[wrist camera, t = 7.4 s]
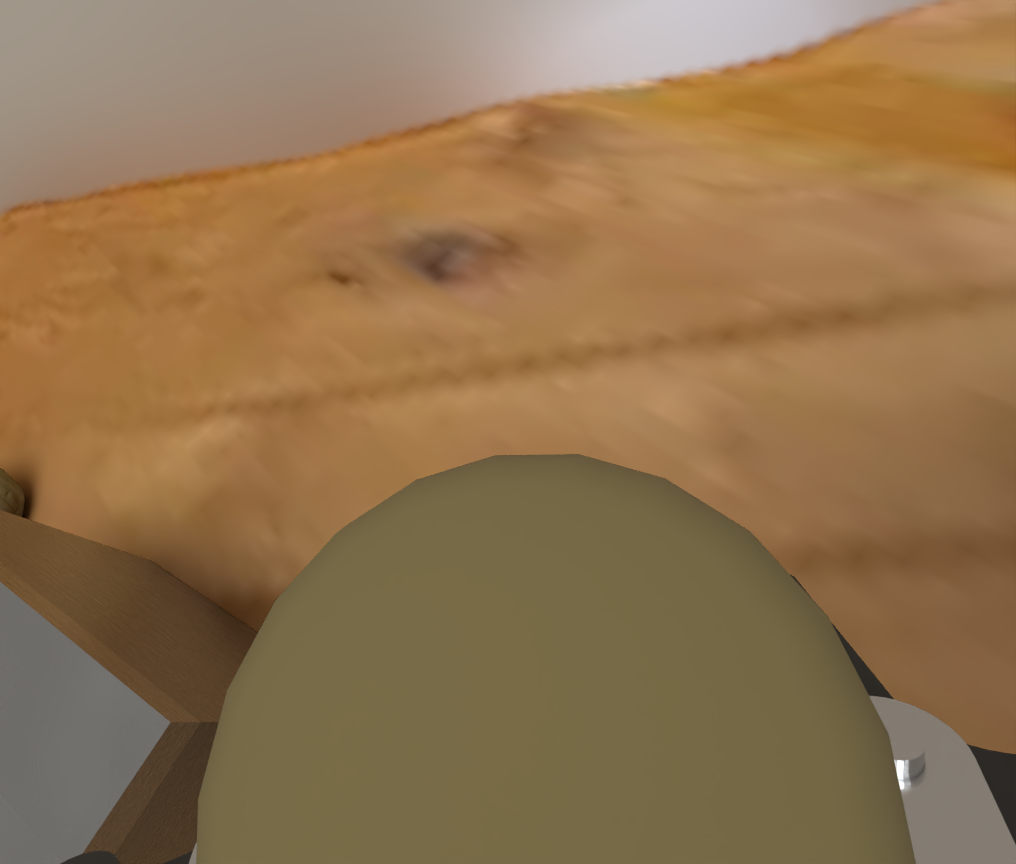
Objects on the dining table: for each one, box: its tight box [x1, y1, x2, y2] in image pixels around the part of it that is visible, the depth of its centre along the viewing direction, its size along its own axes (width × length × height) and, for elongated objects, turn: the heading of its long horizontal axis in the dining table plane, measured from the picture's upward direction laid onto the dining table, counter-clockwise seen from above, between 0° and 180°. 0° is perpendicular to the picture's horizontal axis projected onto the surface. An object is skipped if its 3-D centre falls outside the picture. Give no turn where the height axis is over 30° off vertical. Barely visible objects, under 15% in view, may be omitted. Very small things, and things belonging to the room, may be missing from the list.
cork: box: [196, 454, 916, 864], centre depth 8 cm, size 6×6×11 cm
